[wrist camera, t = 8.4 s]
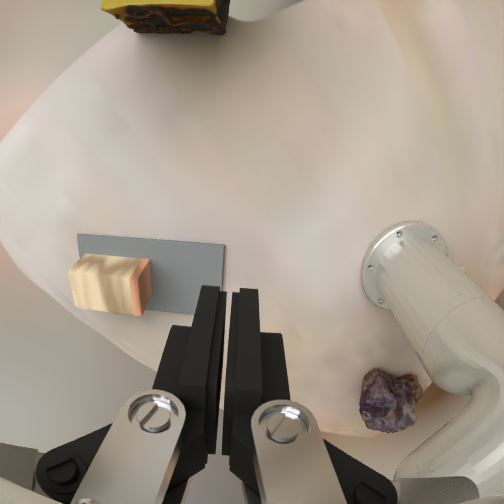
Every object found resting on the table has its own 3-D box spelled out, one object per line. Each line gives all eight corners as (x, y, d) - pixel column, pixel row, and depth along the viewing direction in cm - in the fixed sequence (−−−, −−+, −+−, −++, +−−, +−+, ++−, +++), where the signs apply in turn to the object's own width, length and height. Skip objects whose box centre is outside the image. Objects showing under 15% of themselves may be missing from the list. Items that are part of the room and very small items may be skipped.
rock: (377, 353, 48) (340, 393, 51) (389, 387, 40) (345, 429, 43) (424, 376, 48) (387, 412, 52) (438, 409, 40) (396, 446, 44)
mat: (224, 244, 38) (223, 245, 38) (220, 314, 42) (220, 316, 42) (78, 233, 37) (76, 234, 37) (88, 299, 41) (87, 301, 41)
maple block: (137, 279, 34) (68, 271, 34) (141, 316, 36) (75, 306, 36) (149, 259, 38) (85, 253, 38) (151, 294, 41) (90, 286, 40)
